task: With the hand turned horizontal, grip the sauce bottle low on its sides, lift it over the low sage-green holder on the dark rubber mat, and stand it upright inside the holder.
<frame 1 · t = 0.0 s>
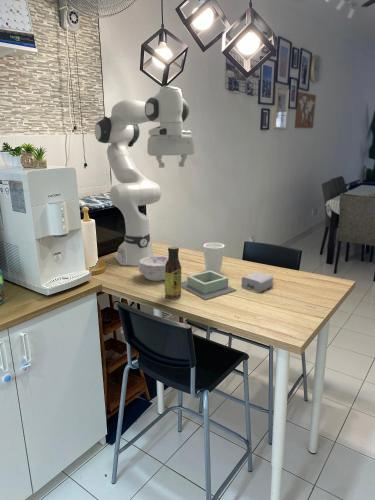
hand: (171, 167, 153), 48 cm above the table, tool pointing down, fingers open, 8 cm apart
sauce bottle: (173, 297, 150), on the table
charger: (260, 285, 162), on the table
bottle holder: (207, 287, 159), resting on mat
mat: (205, 287, 158), on the table
foam cup: (213, 273, 176), on the table
paper bowls: (156, 277, 170), on the table
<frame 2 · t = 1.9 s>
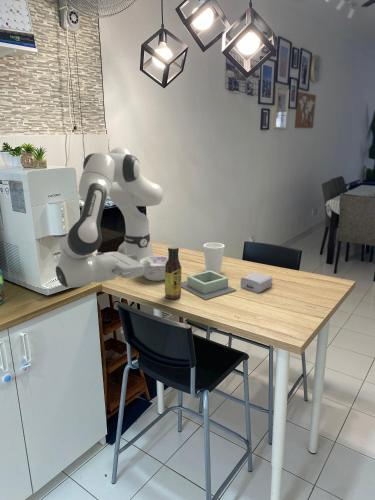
hand: (142, 260, 137), 17 cm above the table, tool horizontal, fingers open, 8 cm apart
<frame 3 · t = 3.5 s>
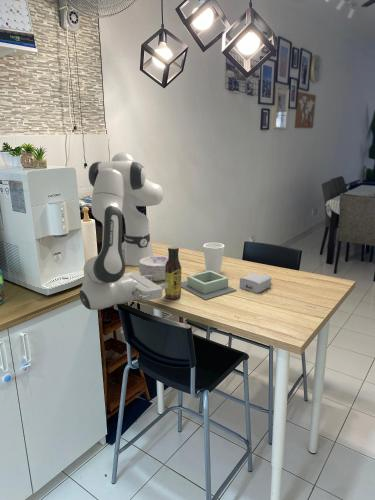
hand: (159, 281, 144), 8 cm above the table, tool horizontal, fingers open, 8 cm apart
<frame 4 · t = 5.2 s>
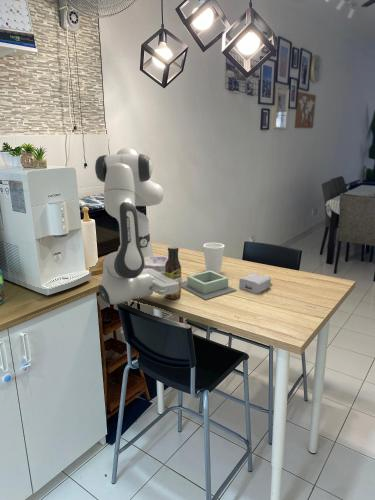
hand: (175, 276, 148), 8 cm above the table, tool horizontal, fingers closed on sauce bottle, 6 cm apart
sauce bottle: (173, 297, 150), on the table, touching gripper
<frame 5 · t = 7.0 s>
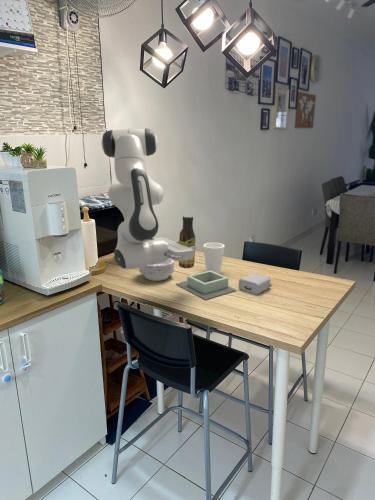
hand: (189, 245, 148), 19 cm above the table, tool horizontal, fingers closed on sauce bottle, 6 cm apart
sauce bottle: (186, 266, 150), point 11 cm above the table, touching gripper
when the fingers open (10 cm above the table, at t = 9.0 s): sauce bottle moves 2 cm, resting on bottle holder.
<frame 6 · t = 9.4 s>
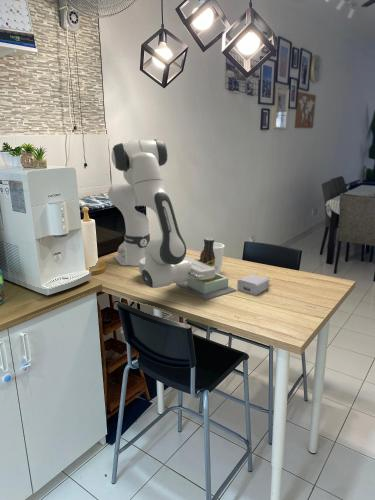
hand: (209, 263, 157), 10 cm above the table, tool horizontal, fingers open, 8 cm apart
sauce bottle: (205, 284, 160), resting on bottle holder, touching gripper
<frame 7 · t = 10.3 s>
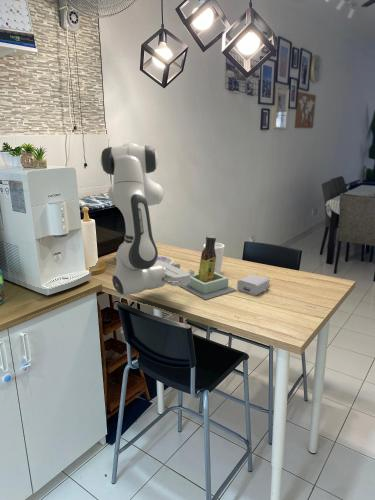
hand: (186, 268, 150), 10 cm above the table, tool horizontal, fingers open, 8 cm apart
sauce bottle: (205, 284, 160), point 1 cm above the table, touching mat
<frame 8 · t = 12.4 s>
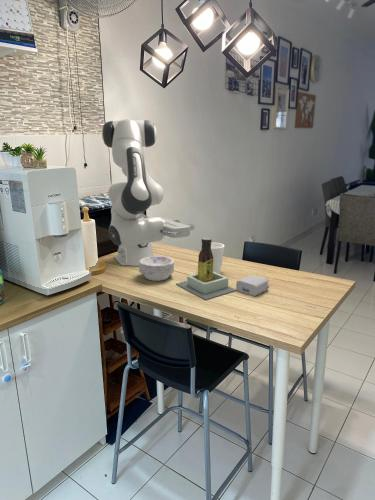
hand: (185, 224, 145), 28 cm above the table, tool horizontal, fingers open, 8 cm apart
at the end: sauce bottle 1.5 cm off-centre on the bottle holder, point 0.2 cm above the bottle holder's base; sauce bottle tilted 1°; the gripper is holding nothing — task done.
